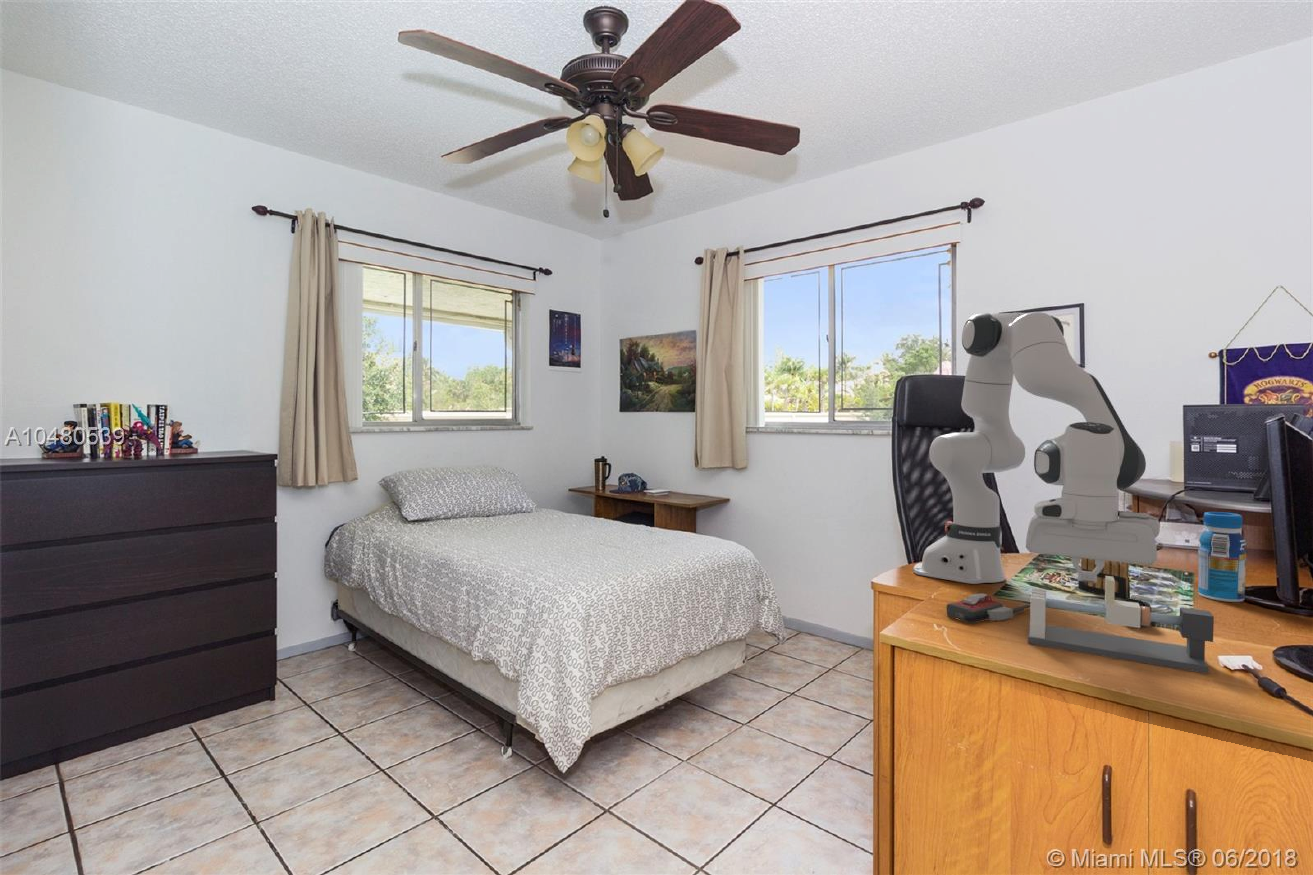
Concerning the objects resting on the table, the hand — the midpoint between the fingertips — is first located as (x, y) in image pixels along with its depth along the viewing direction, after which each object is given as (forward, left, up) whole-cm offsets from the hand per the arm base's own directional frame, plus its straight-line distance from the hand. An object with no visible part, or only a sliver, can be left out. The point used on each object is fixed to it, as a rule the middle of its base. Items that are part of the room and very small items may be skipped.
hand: (1087, 581), depth 116 cm
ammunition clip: (+5, +43, -12) cm, 45 cm away
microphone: (+11, +25, -13) cm, 30 cm away
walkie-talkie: (-17, +10, -13) cm, 24 cm away
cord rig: (+4, 0, -12) cm, 13 cm away
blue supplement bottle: (+28, +53, -12) cm, 61 cm away
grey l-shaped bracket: (+5, 0, -7) cm, 9 cm away
